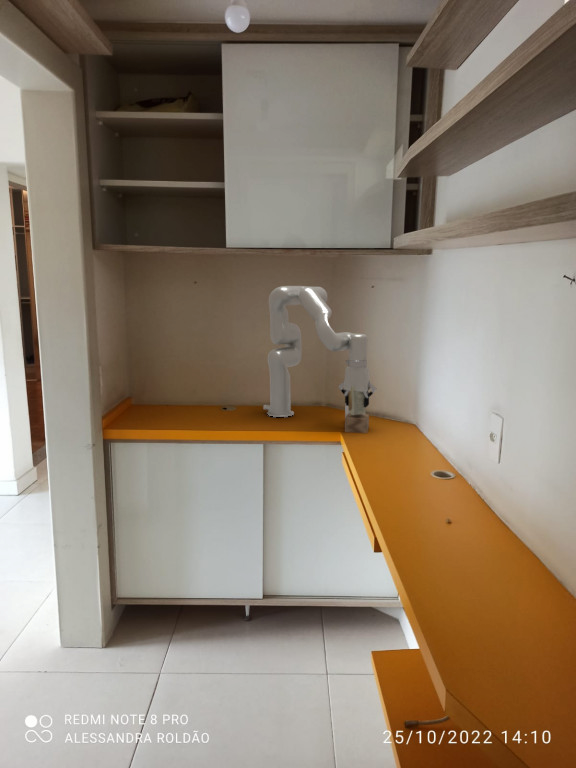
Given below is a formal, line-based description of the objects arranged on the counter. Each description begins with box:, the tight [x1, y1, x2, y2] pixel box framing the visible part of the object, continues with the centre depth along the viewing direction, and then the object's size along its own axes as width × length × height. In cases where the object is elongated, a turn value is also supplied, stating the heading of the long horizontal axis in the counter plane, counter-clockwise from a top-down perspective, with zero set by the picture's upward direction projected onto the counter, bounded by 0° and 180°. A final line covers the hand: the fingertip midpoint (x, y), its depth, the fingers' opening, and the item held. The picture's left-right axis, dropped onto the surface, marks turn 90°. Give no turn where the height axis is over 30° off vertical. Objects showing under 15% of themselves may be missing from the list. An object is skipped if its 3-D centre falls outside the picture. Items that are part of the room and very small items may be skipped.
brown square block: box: [344, 413, 370, 434], centre depth 231 cm, size 9×9×6 cm
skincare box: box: [348, 386, 367, 415], centre depth 229 cm, size 6×4×12 cm
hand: (356, 405), depth 229 cm, fingers closed on skincare box, 7 cm apart
